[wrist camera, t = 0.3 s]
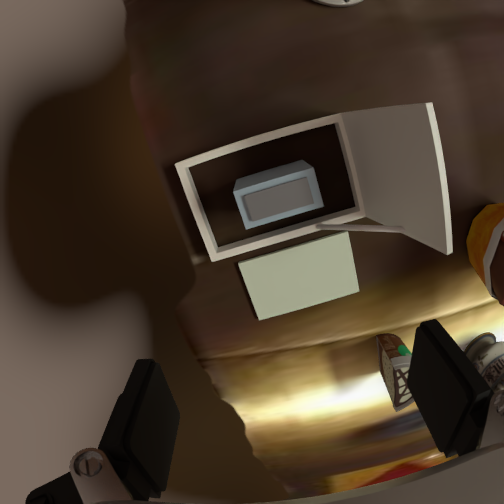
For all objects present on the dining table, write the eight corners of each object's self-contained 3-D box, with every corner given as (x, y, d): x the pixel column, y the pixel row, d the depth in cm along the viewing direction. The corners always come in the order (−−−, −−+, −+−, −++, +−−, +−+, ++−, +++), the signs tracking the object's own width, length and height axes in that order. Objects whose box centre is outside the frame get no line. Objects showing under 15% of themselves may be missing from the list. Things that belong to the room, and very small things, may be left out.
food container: (409, 365, 55) (427, 401, 45) (380, 376, 55) (396, 413, 46) (407, 317, 50) (431, 353, 41) (375, 329, 51) (394, 367, 42)
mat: (238, 262, 46) (238, 263, 46) (346, 230, 44) (347, 231, 44) (259, 318, 50) (259, 320, 49) (358, 289, 48) (359, 291, 47)
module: (236, 179, 42) (232, 192, 34) (302, 159, 41) (314, 168, 33) (247, 210, 44) (245, 230, 36) (311, 191, 42) (324, 207, 35)
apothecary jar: (491, 362, 56) (528, 412, 40) (452, 378, 57) (486, 435, 40) (503, 321, 52) (549, 371, 35) (462, 336, 53) (507, 396, 36)
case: (178, 162, 41) (130, 188, 24) (364, 107, 38) (433, 102, 21) (213, 255, 46) (193, 330, 29) (386, 204, 43) (453, 252, 26)
